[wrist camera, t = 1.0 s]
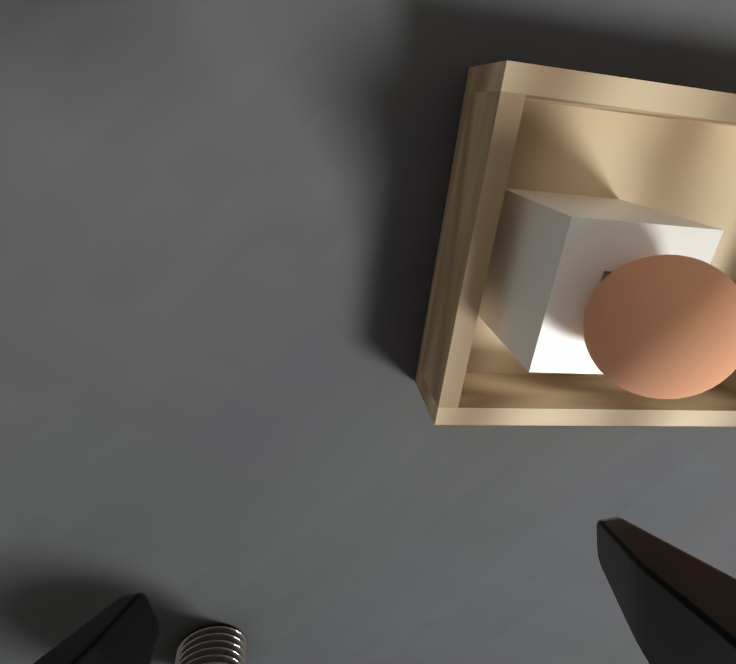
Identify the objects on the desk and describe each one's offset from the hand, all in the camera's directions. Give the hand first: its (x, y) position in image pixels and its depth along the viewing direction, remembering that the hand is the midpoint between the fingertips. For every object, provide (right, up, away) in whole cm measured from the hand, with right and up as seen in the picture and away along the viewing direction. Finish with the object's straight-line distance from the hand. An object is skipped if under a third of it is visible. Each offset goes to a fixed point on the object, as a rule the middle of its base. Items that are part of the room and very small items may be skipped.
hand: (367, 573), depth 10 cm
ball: (+8, +5, +4) cm, 10 cm away
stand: (+7, +8, +11) cm, 15 cm away
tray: (+11, +8, +11) cm, 17 cm away
